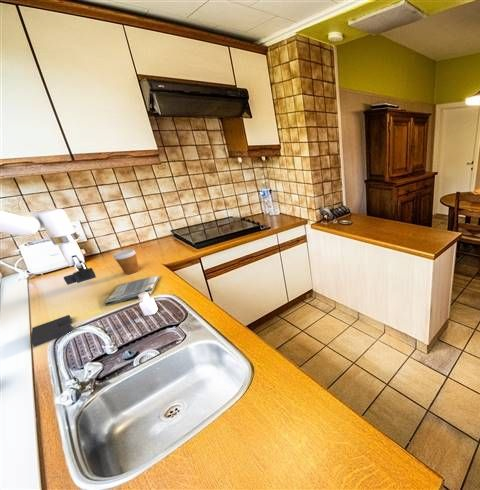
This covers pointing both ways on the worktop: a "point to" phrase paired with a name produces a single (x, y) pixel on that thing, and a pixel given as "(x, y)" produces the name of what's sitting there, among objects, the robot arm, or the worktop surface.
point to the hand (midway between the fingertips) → (85, 275)
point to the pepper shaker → (147, 304)
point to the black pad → (76, 278)
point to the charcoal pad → (51, 330)
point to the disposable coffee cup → (127, 261)
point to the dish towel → (132, 290)
